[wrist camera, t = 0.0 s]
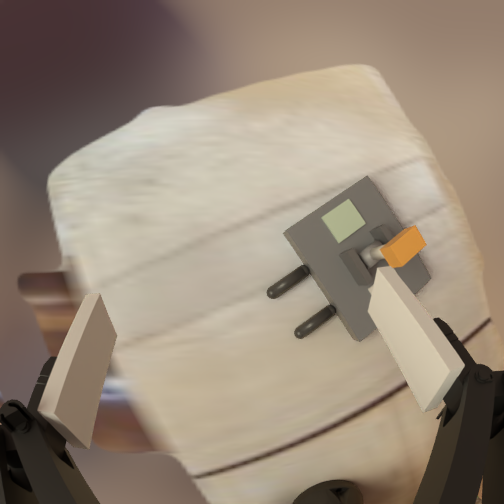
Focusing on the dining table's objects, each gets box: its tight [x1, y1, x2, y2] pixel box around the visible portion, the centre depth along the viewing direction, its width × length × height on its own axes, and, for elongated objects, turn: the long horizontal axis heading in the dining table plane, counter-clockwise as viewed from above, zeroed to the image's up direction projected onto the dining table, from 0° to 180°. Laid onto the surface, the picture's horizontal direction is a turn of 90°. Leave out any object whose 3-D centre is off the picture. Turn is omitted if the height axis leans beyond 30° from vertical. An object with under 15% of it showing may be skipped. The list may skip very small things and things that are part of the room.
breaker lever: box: [358, 225, 427, 270], centre depth 41 cm, size 3×5×13 cm, turn 124°
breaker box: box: [267, 176, 431, 342], centre depth 47 cm, size 22×26×7 cm
